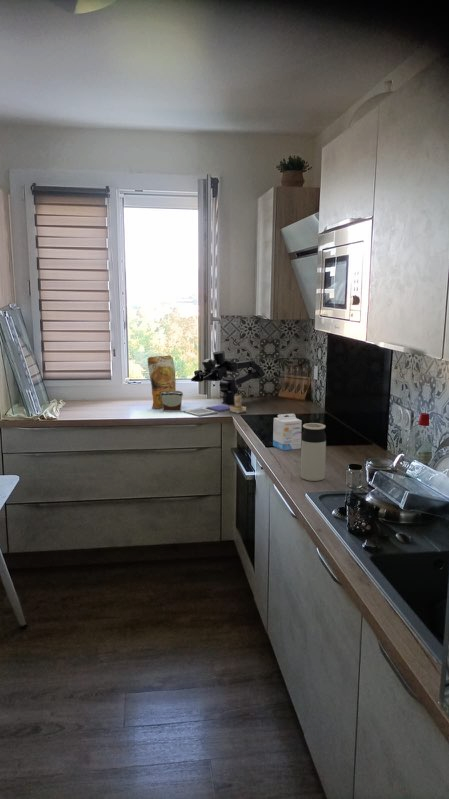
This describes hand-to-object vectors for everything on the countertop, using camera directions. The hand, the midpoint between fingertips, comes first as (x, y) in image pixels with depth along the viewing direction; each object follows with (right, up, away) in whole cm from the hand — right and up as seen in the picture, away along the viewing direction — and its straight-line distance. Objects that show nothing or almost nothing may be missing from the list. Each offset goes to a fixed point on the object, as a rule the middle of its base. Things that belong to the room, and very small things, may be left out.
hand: (197, 379), depth 291 cm
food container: (-13, -16, +5) cm, 21 cm away
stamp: (+22, -17, -2) cm, 28 cm away
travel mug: (+44, -37, -107) cm, 121 cm away
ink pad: (+12, -16, +6) cm, 21 cm away
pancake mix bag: (-19, -14, +14) cm, 28 cm away
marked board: (+2, -17, -3) cm, 18 cm away
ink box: (+40, -30, -69) cm, 85 cm away
